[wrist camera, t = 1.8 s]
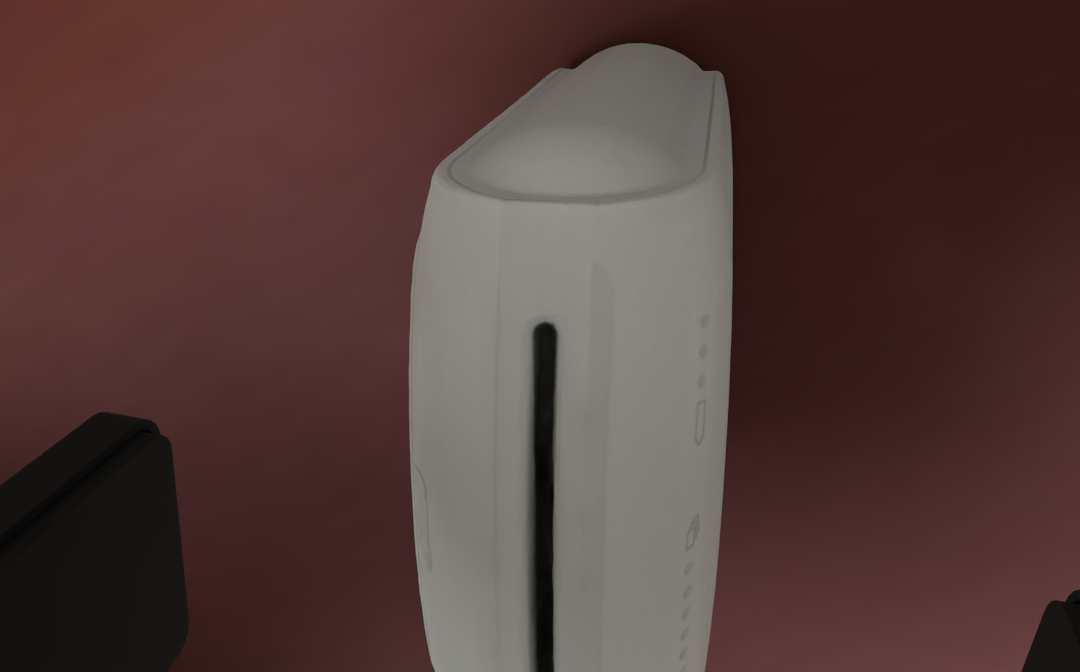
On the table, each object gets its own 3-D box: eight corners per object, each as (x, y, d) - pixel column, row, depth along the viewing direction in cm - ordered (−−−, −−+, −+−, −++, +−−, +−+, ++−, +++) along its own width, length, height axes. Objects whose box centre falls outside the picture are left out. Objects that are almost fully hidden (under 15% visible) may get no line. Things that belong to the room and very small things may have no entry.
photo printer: (713, 467, 24) (698, 932, 13) (546, 453, 25) (390, 880, 13) (744, 42, 20) (762, 169, 9) (544, 39, 21) (324, 154, 10)
